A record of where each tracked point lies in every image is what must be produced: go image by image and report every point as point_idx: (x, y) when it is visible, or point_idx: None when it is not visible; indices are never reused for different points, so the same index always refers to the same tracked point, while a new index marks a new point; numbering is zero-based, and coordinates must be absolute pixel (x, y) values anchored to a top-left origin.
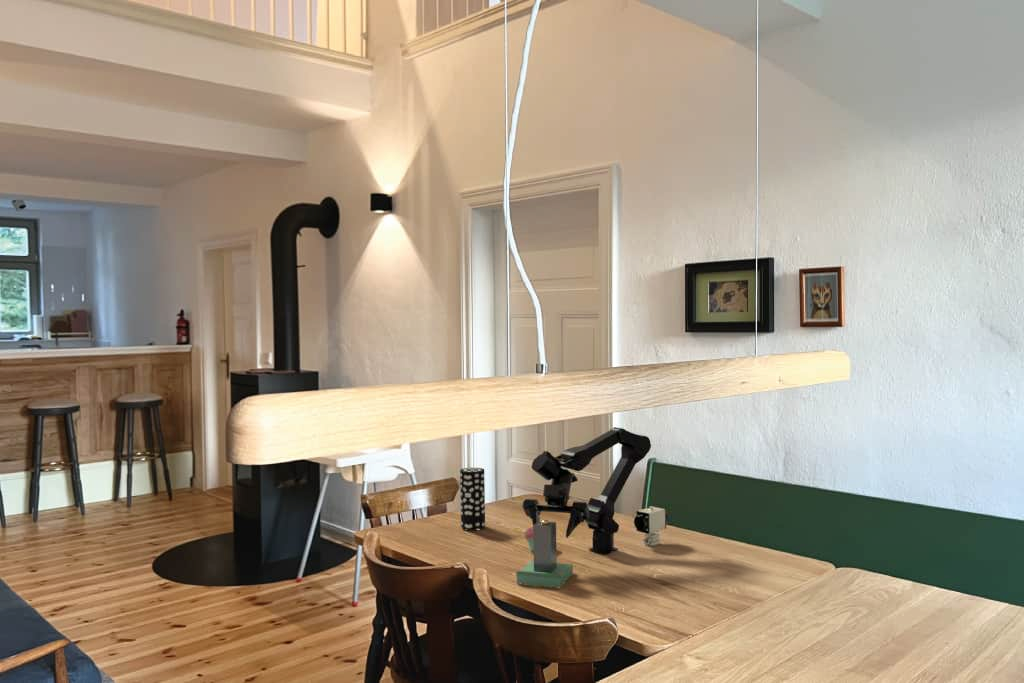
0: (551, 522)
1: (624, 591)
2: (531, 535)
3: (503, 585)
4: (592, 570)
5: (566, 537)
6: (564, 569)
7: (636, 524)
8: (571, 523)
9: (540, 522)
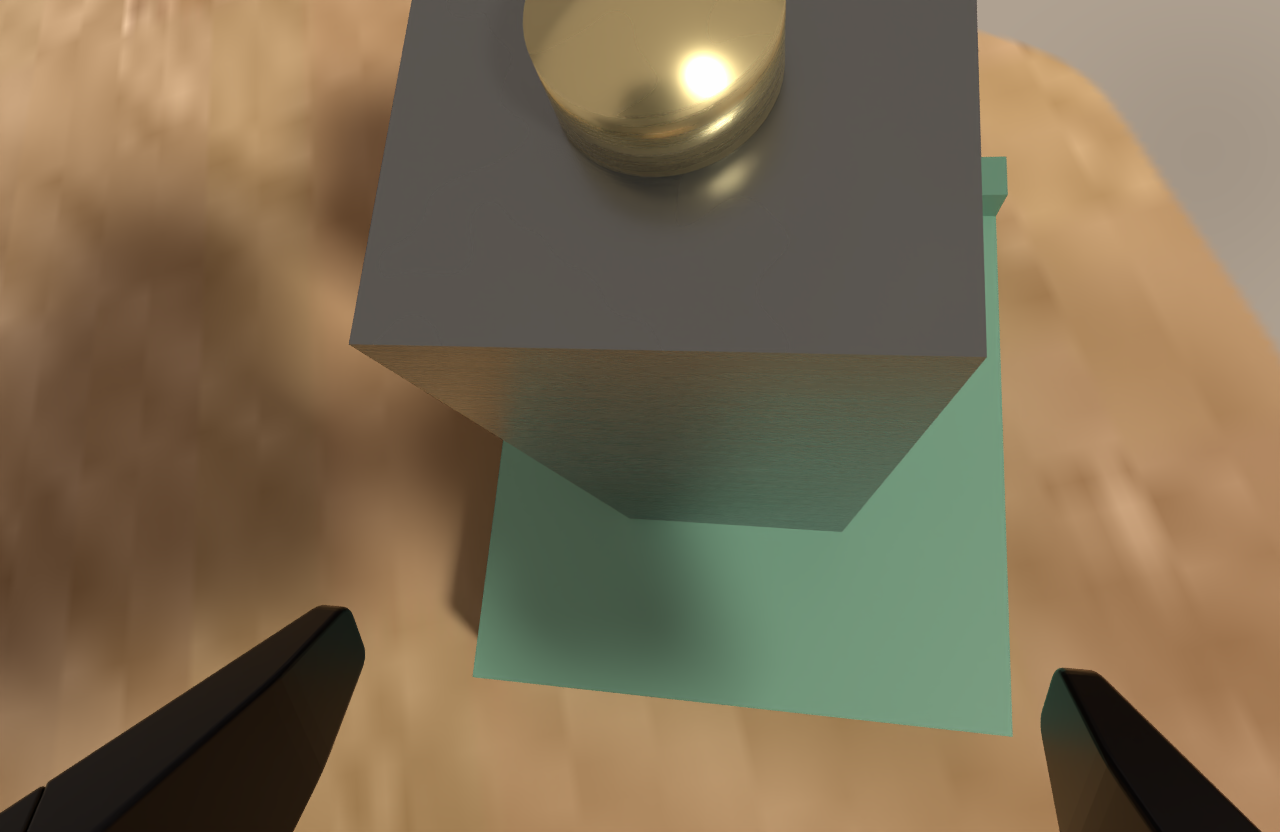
0: (482, 277)
1: (93, 305)
2: None
3: (1086, 163)
4: (327, 801)
5: (362, 648)
6: (534, 465)
7: None
8: (24, 814)
9: (847, 182)
